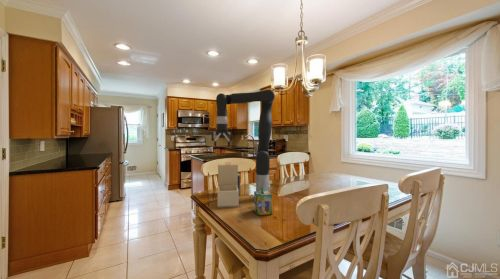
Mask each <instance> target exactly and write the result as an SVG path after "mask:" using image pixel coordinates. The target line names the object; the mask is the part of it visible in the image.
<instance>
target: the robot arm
mask: <svg viewBox="0 0 500 279" xmlns="http://www.w3.org/2000/svg"><path fill="white" fill-rule="evenodd" d="M275 97H276V94H275V92H274V91H273V90H272V89H268V88H267V89H264V90H263V89H262V90H259V91H253V92H251V91H250V92H238V93H237V92H236V93H235V92H234V93H231V94H224V93H218V94H217V95H216V98H215V103H216V121H215V122H216V131H212V132H211V138H210V139H211V141H213V146H214V147H215V148H217V141H218V139H226V140H227V147H228V148H229V147H230V146H231V141H233V132H232V131H228V122H229V121H228V109H227V105H236V104H246V103H252V102H254V103H255V102H260V105H261V106H260V115H259V118H258V129H257V137H258V138H257V139H258V140H257V141H258V145H257V146H258V147H257V151H256V156H255V191H261V188H260V186H261V187H262V189H263V191H269V192H270V193H271V190H270V188H271V186H270V165H271V164H270V160H271V159H270V155H269V152H270V150H269V148H270V147H269V145H270V140H271V136H272V129H273V116H272V109H273V102H274V101H275V99H276V98H275ZM215 135H216V138H215V137H214V136H215ZM228 135H229V136H230V138H229V137H228Z"/></svg>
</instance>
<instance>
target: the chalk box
mask: <svg viewBox="0 0 500 279" xmlns="http://www.w3.org/2000/svg"><path fill="white" fill-rule="evenodd" d="M260 188H261V191H256V190H255V191H254V192H253V194H254V195H253V198H254V199H253V203H254V206H253V210H254V212H255V215H256V216H267V215H273V194H272V193H271V191H270V192H269V191H263V189H262V187H261V186H260Z"/></svg>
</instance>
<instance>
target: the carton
mask: <svg viewBox="0 0 500 279" xmlns="http://www.w3.org/2000/svg"><path fill="white" fill-rule="evenodd" d="M217 187H218V188H217V209H218V208H220V209H222V208H239V207H240V206H239V205H240V200H239V199H240V196H239V190H238V185H218V184H217Z"/></svg>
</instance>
